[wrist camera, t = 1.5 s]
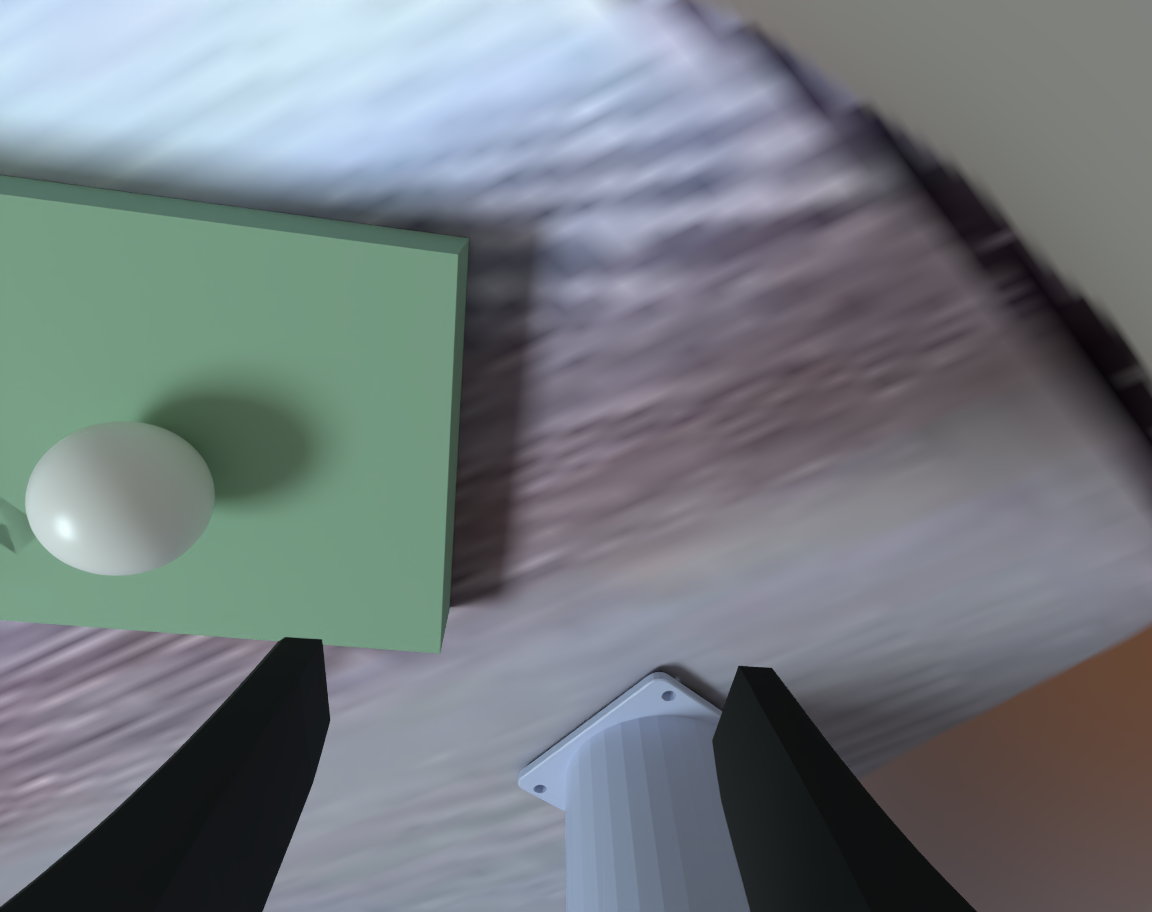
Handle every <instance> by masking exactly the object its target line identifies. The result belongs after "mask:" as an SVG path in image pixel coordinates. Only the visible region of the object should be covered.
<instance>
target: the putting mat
mask: <svg viewBox="0 0 1152 912" xmlns="http://www.w3.org/2000/svg"><path fill="white" fill-rule="evenodd" d="M468 251H469V238H464V237H457V236H450V235H442V234H435V233H427V232H420V231H412V230H405V229H398V228H390V227H383V226H375V225H368V224H360V223H353V222H346V221H338V220H331V219H323V218H316V217H308V216H301V215H294V214H286V213H279V212H271V211H264V210H256V209H249V208H242V207H234V206H227V205H219V204H212V203H204V202H197V201H190V200H182V199H175V198H167V197H160V196H152V195H145V194H138V193H130V192H123V191H115V190H108V189H101V188H93V187H86V186H78V185H71V184H63V183H56V182H49V181H41V180H34V179H26V178H19V177H11V176H4V175H0V620H7V621H20V622H33V623H46V624H59V625H73V626H86V627H99V628H112V629H125V630H138V631H151V632H164V633H178V634H191V635H204V636H217V637H230V638H243V639H256V640H270V641H280V640H281V639H283V638H284V637H294V638H309V639H322V643H323V645H335V646H348V647H362V648H375V649H388V650H401V651H414V652H427V653H440V651H441V647H442V642H443V637H444V632H445V628H446V623H447V618H448V614H449V609H450V592H451V573H452V554H453V535H454V516H455V497H456V478H457V459H458V440H459V421H460V402H461V383H462V365H463V346H464V327H465V308H466V289H467V270H468ZM114 421H134V422H142V423H146V424H151V425H155V426H158V427H161V428H164V429H166V430H169V431H171V432H173V433H175V434H176V435H178V436H180V437H181V438H183V439H184V440H186V441H187V442H188V443H189V444H190V445H192V446H193V447H194V448H195V449H196V450H197V451H198V452H199V454H200V455H201V456H202V458H203V459H204V461H205V462H206V464H207V466H208V468H209V470H210V472H211V475H212V478H213V482H214V489H215V503H214V508H213V513H212V516H211V518H210V521H209V523H208V526H207V528H206V529H205V531H204V532H203V534H202V535H201V537H200V538H199V540H198V541H197V542H196V543H195V544H194V545H193V546H192V547H191V548H190V549H189V550H188V551H186V552H185V553H184V554H182V555H181V556H180V557H178V558H177V559H175V560H174V561H172V562H170V563H168V564H166V565H164V566H162V567H159V568H157V569H154V570H151V571H148V572H144V573H139V574H133V575H124V576H110V575H99V574H94V573H89V572H86V571H83V570H80V569H77V568H74V567H72V566H70V565H68V564H66V563H64V562H62V561H60V560H59V559H57V558H56V557H55V556H53V555H52V554H51V553H50V552H49V551H48V550H47V549H46V548H45V547H44V546H43V545H42V544H41V543H40V542H39V540H38V539H37V538H36V536H35V535H34V533H33V531H32V529H31V527H30V524H29V521H28V518H27V514H26V508H25V496H26V489H27V485H28V481H29V478H30V476H31V474H32V472H33V470H34V468H35V466H36V464H37V463H38V462H39V460H40V459H41V458H42V457H43V455H44V454H45V453H46V452H47V451H48V450H49V449H50V448H51V447H52V446H54V445H55V444H56V443H57V442H59V441H60V440H62V439H63V438H65V437H66V436H68V435H70V434H72V433H74V432H76V431H78V430H81V429H83V428H86V427H89V426H92V425H96V424H100V423H106V422H114Z"/></svg>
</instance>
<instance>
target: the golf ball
mask: <svg viewBox="0 0 1152 912" xmlns="http://www.w3.org/2000/svg"><path fill="white" fill-rule="evenodd" d="M214 503H215V489H214V482H213V478H212V475H211V472H210V470H209V468H208V466H207V464H206V462H205V461H204V459H203V458H202V456H201V455H200V454H199V452H198V451H197V450H196V449H195V448H194V447H193V446H192V445H190V444H189V443H188V442H187V441H186V440H184V439H183V438H181V437H180V436H178V435H176V434H175V433H173V432H171V431H169V430H166V429H164V428H161V427H158V426H155V425H151V424H146V423H142V422H134V421H114V422H106V423H100V424H96V425H92V426H89V427H86V428H83V429H81V430H78V431H76V432H74V433H72V434H70V435H68V436H66V437H65V438H63V439H62V440H60V441H59V442H57V443H56V444H55V445H54V446H52V447H51V448H50V449H49V450H48V451H47V452H46V453H45V454H44V455H43V457H42V458H41V459H40V460H39V462H38V463H37V464H36V466H35V468H34V470H33V472H32V474H31V476H30V478H29V481H28V485H27V489H26V496H25V508H26V514H27V518H28V521H29V524H30V527H31V529H32V531H33V533H34V535H35V536H36V538H37V539H38V540H39V542H40V543H41V544H42V545H43V546H44V547H45V548H46V549H47V550H48V551H49V552H50V553H51V554H52V555H53V556H55V557H56V558H57V559H59V560H60V561H62V562H64V563H66V564H68V565H70V566H72V567H74V568H77V569H80V570H83V571H86V572H89V573H94V574H99V575H110V576H124V575H133V574H139V573H144V572H148V571H151V570H154V569H157V568H159V567H162V566H164V565H166V564H168V563H170V562H172V561H174V560H175V559H177V558H178V557H180V556H181V555H182V554H184V553H185V552H186V551H188V550H189V549H190V548H191V547H192V546H193V545H194V544H195V543H196V542H197V541H198V540H199V538H200V537H201V535H202V534H203V532H204V531H205V529H206V528H207V526H208V523H209V521H210V518H211V516H212V513H213V508H214Z"/></svg>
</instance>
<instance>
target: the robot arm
mask: <svg viewBox="0 0 1152 912" xmlns="http://www.w3.org/2000/svg"><path fill="white" fill-rule="evenodd" d="M666 691H670V692H666ZM329 723H330V713H329V703H328V693H327V683H326V673H325V663H324V653H323V643H322V639H309V638H294V637H284V638H283V639H281V640H280V641H278V643H277V644H276V645H275V646H274V647H273V648H272V649H271V651H270V652H269V653H268V654H267V655H266V656H265V657H264V659H263V660H262V661H261V662H260V663H259V664H258V665H257V667H256V668H255V669H254V670H253V671H252V672H251V673H250V674H249V676H248V677H247V678H246V679H245V680H244V681H243V682H242V683H241V684H240V685H239V687H238V688H237V689H236V690H235V691H234V692H233V693H232V694H231V695H230V696H229V697H228V698H227V700H226V701H225V702H224V703H223V704H222V705H221V706H220V707H219V708H218V709H217V710H216V711H215V712H214V713H213V714H212V715H211V717H210V718H209V719H208V720H207V721H206V722H205V723H204V724H203V725H202V726H201V727H200V728H199V729H198V730H197V731H196V732H195V733H194V734H193V735H192V736H191V737H190V738H189V739H188V740H187V741H186V742H185V743H184V744H183V745H182V746H181V747H180V748H179V749H178V750H177V751H176V752H175V753H174V754H173V755H172V756H171V757H170V758H169V759H168V760H167V761H166V762H165V763H164V764H163V765H162V766H161V767H160V768H159V769H158V770H157V771H156V772H155V773H154V774H153V775H152V776H151V777H150V778H148V779H147V780H146V781H145V782H144V783H143V784H142V785H141V786H140V787H139V788H138V789H137V790H136V791H135V792H134V793H133V794H132V795H131V796H130V797H129V798H127V799H126V800H125V801H124V802H123V803H122V804H121V805H120V806H119V807H118V808H117V809H116V810H115V811H114V812H112V813H111V814H110V815H109V816H108V817H107V818H106V819H105V820H104V821H102V822H101V823H100V824H99V825H98V826H97V827H96V828H95V829H93V830H92V831H91V832H90V833H89V834H88V835H87V836H86V837H84V838H83V839H82V840H81V841H80V842H79V843H78V844H76V845H75V846H74V847H73V848H72V849H70V850H69V851H68V852H67V853H66V854H65V855H63V856H62V857H61V858H60V859H59V860H58V861H56V862H55V863H54V864H53V865H52V866H50V867H49V868H48V869H47V870H46V871H45V872H43V873H42V874H41V875H40V876H38V877H37V878H36V879H35V880H34V881H32V882H31V883H30V884H29V885H27V886H26V887H25V888H24V889H22V890H21V891H20V892H19V893H17V894H16V895H15V896H14V897H12V898H11V899H10V900H9V901H7V902H6V903H5V904H4V905H2V906H1V907H0V912H262V911H263V909H264V906H265V904H266V901H267V898H268V896H269V893H270V891H271V888H272V886H273V883H274V881H275V878H276V876H277V873H278V871H279V868H280V866H281V863H282V861H283V858H284V856H285V853H286V851H287V848H288V846H289V843H290V840H291V838H292V835H293V833H294V830H295V828H296V825H297V823H298V820H299V818H300V815H301V812H302V810H303V807H304V805H305V802H306V800H307V797H308V794H309V792H310V789H311V787H312V784H313V781H314V777H315V774H316V770H317V767H318V763H319V760H320V756H321V753H322V749H323V745H324V742H325V738H326V734H327V730H328V727H329ZM518 785H519V787H521V788H522V789H523V790H525V791H527V792H529V793H531V794H533V795H535V796H537V797H538V798H540V799H542V800H544V801H546V802H548V803H550V804H552V805H554V806H556V807H557V808H559V809H561V810H563V811H565V836H566V910H567V912H977V911H976V910H975V909H974V908H973V907H972V906H971V905H970V904H969V903H968V902H967V901H966V900H965V899H964V898H963V897H962V896H961V895H960V894H959V893H958V892H957V891H956V890H955V889H954V888H953V887H952V886H951V885H950V884H949V883H948V882H947V881H946V880H945V879H944V878H943V877H942V876H941V875H940V873H939V872H938V871H937V870H936V869H935V868H934V867H933V866H932V865H931V864H930V863H929V862H928V861H927V860H926V859H925V857H924V856H923V855H922V854H921V853H920V852H919V851H918V850H917V849H916V848H915V847H914V845H913V844H912V843H911V842H910V841H909V840H908V839H907V838H906V836H905V835H904V834H903V833H902V832H901V831H900V829H899V828H898V827H897V826H896V825H895V824H894V823H893V822H892V820H891V819H890V818H889V817H888V816H887V815H886V813H885V812H884V811H883V810H882V809H881V808H880V806H879V805H878V804H877V803H876V801H875V800H874V799H873V798H872V797H871V795H870V794H869V793H868V792H867V791H866V790H865V788H864V787H863V786H862V785H861V783H860V782H859V781H858V779H857V778H856V777H855V776H854V774H853V773H852V772H851V771H850V769H849V768H848V767H847V766H846V764H845V763H844V762H843V761H842V759H841V758H840V757H839V756H838V754H837V753H836V752H835V751H834V749H833V748H832V747H831V745H830V744H829V743H828V742H827V740H826V739H825V738H824V736H823V735H822V734H821V732H820V731H819V730H818V728H817V727H816V726H815V724H814V723H813V722H812V721H811V719H810V718H809V717H808V715H807V714H806V713H805V711H804V710H803V709H802V707H801V706H800V705H799V703H798V702H797V701H796V699H795V698H794V697H793V695H792V694H791V693H790V691H789V690H788V689H787V687H786V686H785V685H784V683H783V682H782V681H781V679H780V678H779V677H778V675H777V674H776V673H775V671H774V670H773V669H772V668H764V667H748V666H738V669H737V672H736V675H735V678H734V680H733V683H732V686H731V689H730V692H729V694H728V697H727V700H726V703H725V706H724V708H723V711H721V710H719V709H718V708H716V707H715V706H714V705H712V704H711V703H709V702H708V701H706V700H705V699H703V698H702V697H700V696H699V695H697V694H696V693H694V692H693V691H692V690H690V689H689V688H687V687H686V686H684V685H683V684H681V683H680V682H678V681H677V680H675V679H674V678H672V677H671V676H669V675H668V674H666V673H663V672H655V673H652V674H650V675H648V676H647V677H645V678H644V679H643V680H641V681H640V682H639V683H637V684H636V685H635V686H633V687H632V688H631V689H629V690H628V691H627V692H625V693H624V694H623V695H621V696H620V697H619V698H617V699H616V700H615V701H613V702H612V703H611V704H609V705H608V706H607V707H605V708H604V709H603V710H601V711H600V712H599V713H597V714H596V715H595V716H593V717H592V718H591V719H589V720H588V721H587V722H585V723H584V724H583V725H581V726H580V727H579V728H577V729H576V730H575V731H573V732H572V733H571V734H569V735H568V736H567V737H565V738H564V739H563V740H561V741H560V742H559V743H557V744H556V745H555V746H553V747H552V748H551V749H549V750H548V751H547V752H545V753H544V754H543V755H541V756H540V757H539V758H537V759H536V760H535V761H533V762H532V763H531V764H529V765H528V766H527V767H525V768H524V769H523V770H521V771H520V772H519V775H518Z"/></svg>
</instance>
